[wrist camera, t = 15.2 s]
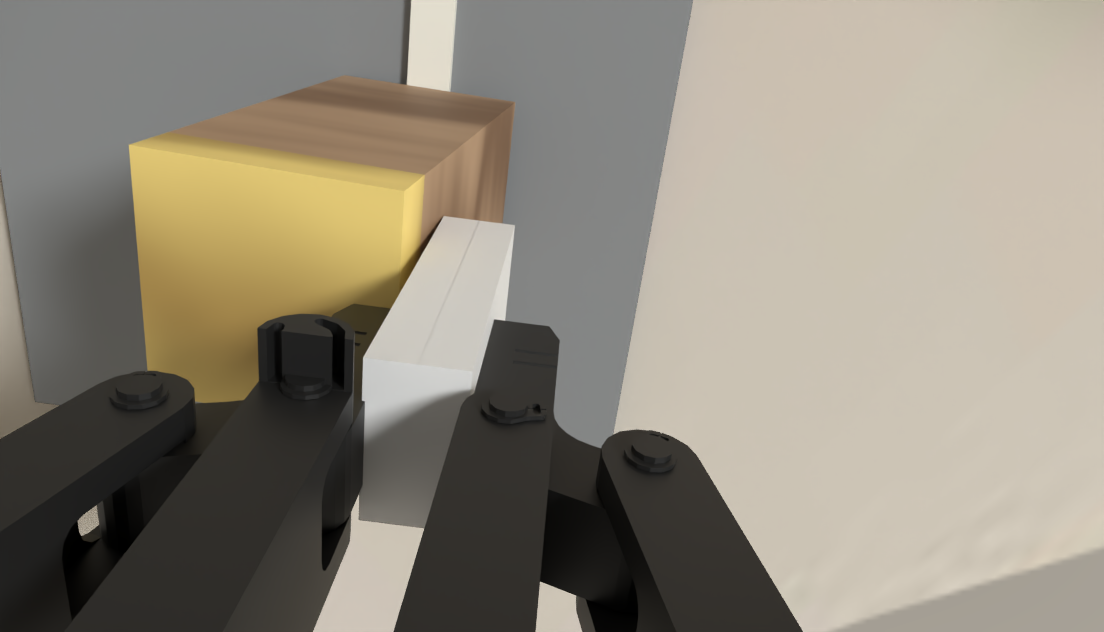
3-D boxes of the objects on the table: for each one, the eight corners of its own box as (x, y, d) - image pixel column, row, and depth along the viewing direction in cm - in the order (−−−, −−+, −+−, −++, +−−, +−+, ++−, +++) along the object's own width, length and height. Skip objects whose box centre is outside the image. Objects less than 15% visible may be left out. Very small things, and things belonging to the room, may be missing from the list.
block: (344, 75, 24) (128, 144, 14) (515, 101, 23) (404, 191, 14) (340, 240, 26) (149, 392, 16) (497, 267, 25) (390, 439, 16)
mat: (-52, -286, 21) (-79, -295, 20) (722, -177, 21) (727, -182, 20) (45, 393, 29) (29, 406, 28) (604, 468, 29) (605, 483, 28)
